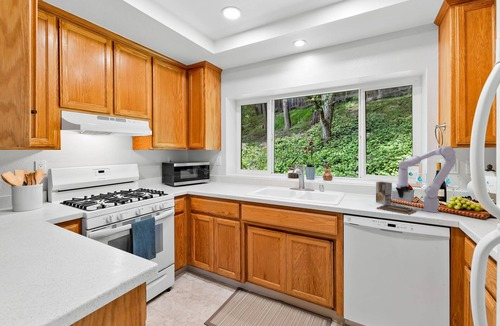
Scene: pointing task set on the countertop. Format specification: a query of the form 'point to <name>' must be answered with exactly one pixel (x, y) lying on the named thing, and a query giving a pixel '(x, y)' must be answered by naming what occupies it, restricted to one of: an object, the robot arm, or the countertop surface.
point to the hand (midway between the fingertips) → (402, 197)
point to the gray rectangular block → (406, 196)
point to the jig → (397, 209)
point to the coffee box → (383, 192)
